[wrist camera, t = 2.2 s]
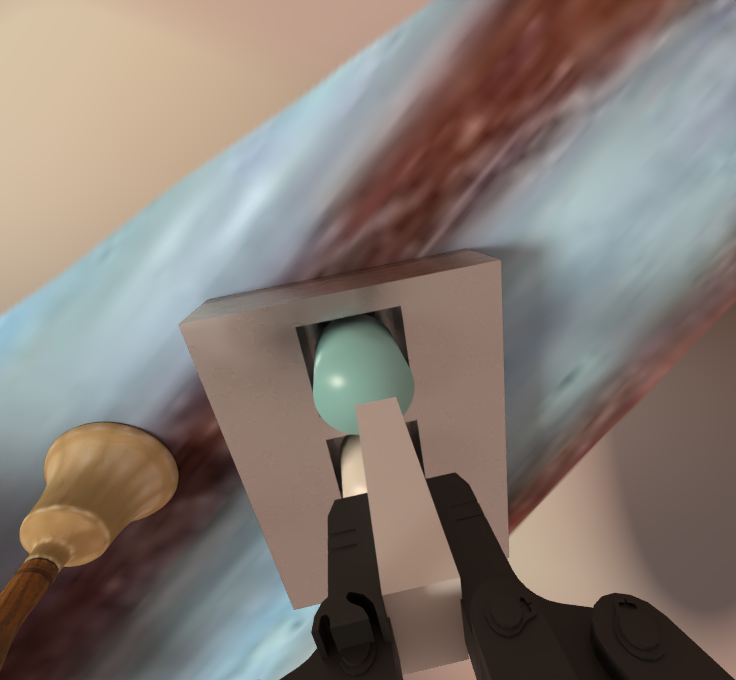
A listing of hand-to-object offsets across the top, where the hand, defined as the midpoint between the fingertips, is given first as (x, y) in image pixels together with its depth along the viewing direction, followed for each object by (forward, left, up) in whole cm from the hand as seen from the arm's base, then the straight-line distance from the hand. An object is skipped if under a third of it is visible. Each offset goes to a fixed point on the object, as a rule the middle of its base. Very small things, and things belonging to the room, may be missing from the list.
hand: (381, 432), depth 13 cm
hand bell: (-18, -7, -11) cm, 22 cm away
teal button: (0, 0, -8) cm, 8 cm away
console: (0, -7, -11) cm, 13 cm away
